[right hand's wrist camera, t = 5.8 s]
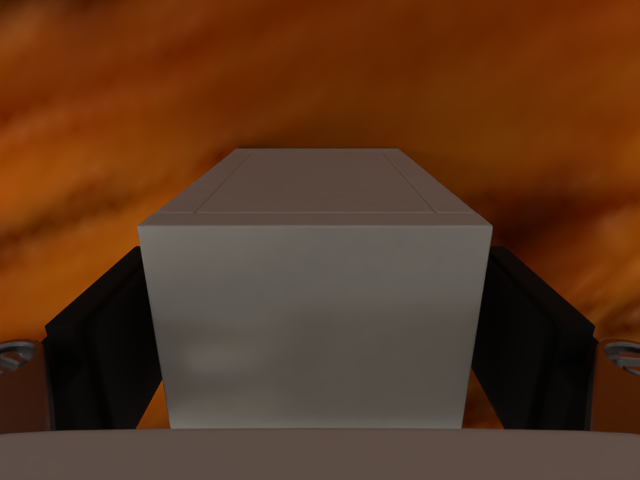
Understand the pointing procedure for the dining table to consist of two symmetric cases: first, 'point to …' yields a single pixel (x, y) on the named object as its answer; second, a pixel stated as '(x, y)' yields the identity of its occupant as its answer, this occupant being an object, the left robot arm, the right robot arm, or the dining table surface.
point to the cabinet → (315, 292)
